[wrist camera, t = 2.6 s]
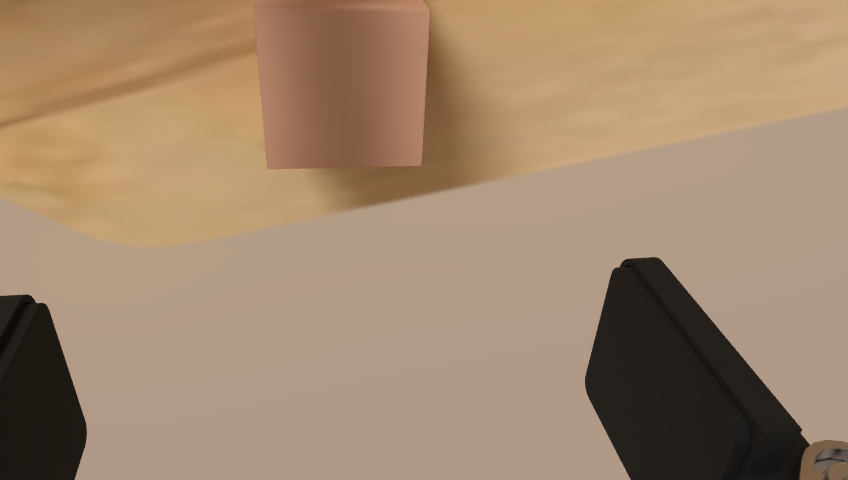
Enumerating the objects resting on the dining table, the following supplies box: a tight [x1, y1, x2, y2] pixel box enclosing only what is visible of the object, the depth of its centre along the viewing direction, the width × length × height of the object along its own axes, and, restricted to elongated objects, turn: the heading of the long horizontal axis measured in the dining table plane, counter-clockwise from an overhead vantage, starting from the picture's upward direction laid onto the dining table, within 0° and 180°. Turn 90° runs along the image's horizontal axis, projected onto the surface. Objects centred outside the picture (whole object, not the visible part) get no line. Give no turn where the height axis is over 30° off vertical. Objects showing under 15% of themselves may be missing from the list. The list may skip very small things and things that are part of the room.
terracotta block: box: [253, 0, 430, 169], centre depth 23 cm, size 5×5×6 cm
